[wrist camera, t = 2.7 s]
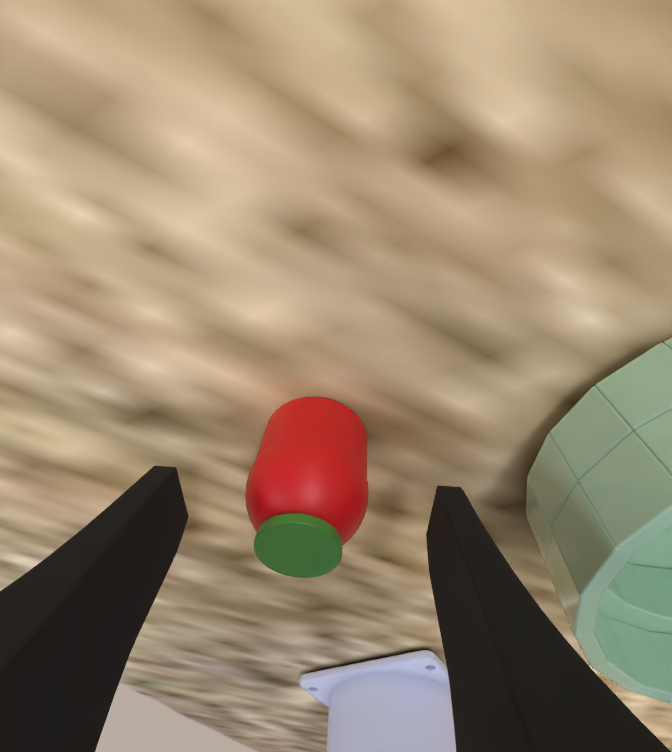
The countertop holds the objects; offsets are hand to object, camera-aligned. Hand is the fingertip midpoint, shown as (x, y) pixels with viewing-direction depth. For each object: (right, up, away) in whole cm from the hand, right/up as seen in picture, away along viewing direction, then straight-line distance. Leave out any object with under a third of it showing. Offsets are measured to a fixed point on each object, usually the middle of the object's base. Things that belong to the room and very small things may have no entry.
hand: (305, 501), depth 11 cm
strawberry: (0, +1, +2) cm, 3 cm away
